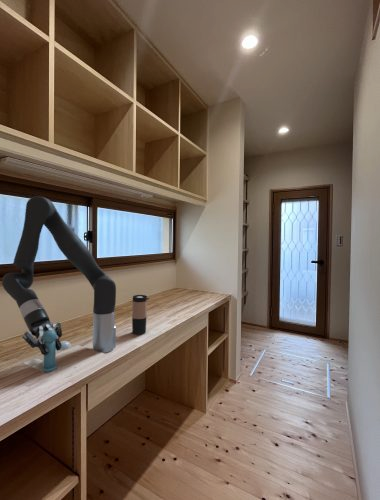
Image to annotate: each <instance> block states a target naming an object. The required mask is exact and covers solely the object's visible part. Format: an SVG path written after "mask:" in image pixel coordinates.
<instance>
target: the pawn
mask: <svg viewBox="0 0 380 500" xmlns="http://www.w3.org/2000/svg"><path fill="white" fill-rule="evenodd" d="M53 330H54V329H53ZM53 330H48V331H46V332H45V333H44V334H43V342H44V343H43V344H45V345H46V347H47V349H48V351H49V353H48V354H47V355H45V356H44V355H43V362H44V366H43V367H42V371H43V373H45V372H50V373H52V372H51V371H53V372H55V371H56V369H57V367H58V364H57V363H56V355H57V354H56V353H57V352H56V340H55V339H56V337H57V334H56V332H55V330H54V331H53ZM54 370H55V371H54ZM57 370H58V369H57ZM42 371H41V372H42Z"/></svg>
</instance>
